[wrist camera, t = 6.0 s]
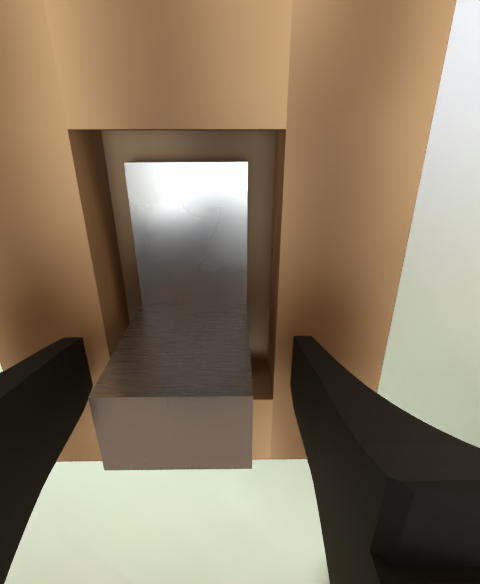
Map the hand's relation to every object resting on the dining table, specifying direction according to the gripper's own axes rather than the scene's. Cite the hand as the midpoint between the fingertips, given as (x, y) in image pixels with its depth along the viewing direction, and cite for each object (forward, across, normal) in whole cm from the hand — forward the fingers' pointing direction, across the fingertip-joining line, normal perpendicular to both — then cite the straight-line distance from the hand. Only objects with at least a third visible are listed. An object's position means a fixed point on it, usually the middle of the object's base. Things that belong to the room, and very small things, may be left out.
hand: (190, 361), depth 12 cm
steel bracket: (+3, 0, -3) cm, 4 cm away
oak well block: (+4, 0, -2) cm, 4 cm away
